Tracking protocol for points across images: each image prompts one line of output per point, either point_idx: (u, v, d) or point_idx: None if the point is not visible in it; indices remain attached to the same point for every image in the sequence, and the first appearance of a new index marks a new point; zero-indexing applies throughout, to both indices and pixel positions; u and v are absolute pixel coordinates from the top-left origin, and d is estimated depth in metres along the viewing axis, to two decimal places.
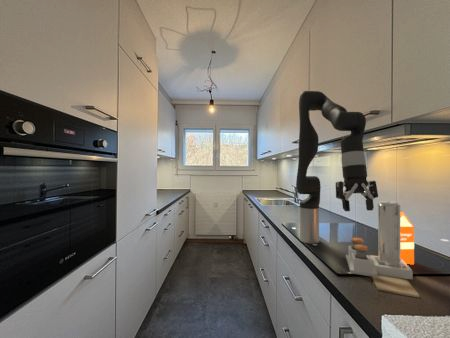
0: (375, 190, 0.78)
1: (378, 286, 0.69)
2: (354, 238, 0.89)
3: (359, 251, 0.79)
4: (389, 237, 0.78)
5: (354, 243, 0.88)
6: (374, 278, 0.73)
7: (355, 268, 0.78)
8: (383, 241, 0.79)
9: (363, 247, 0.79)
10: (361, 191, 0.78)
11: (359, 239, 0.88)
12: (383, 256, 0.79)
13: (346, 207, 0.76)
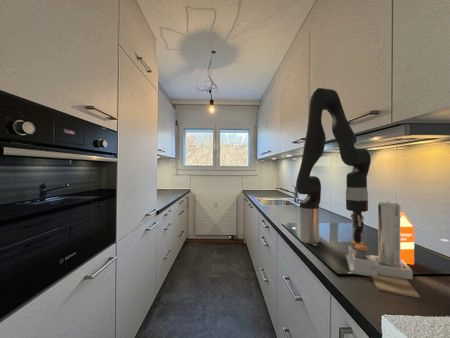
0: None
1: (378, 286, 0.69)
2: (354, 241, 0.89)
3: (359, 251, 0.79)
4: (389, 237, 0.78)
5: None
6: (374, 278, 0.73)
7: (355, 268, 0.78)
8: (383, 241, 0.79)
9: (363, 247, 0.79)
10: None
11: None
12: (383, 256, 0.79)
13: (359, 239, 0.87)
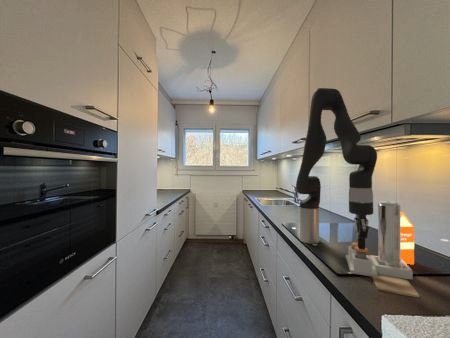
0: None
1: (378, 286, 0.69)
2: (354, 243, 0.89)
3: (359, 253, 0.79)
4: (389, 237, 0.78)
5: None
6: (374, 278, 0.73)
7: (355, 268, 0.78)
8: (383, 241, 0.79)
9: (363, 249, 0.79)
10: None
11: None
12: (383, 256, 0.79)
13: (364, 245, 0.78)
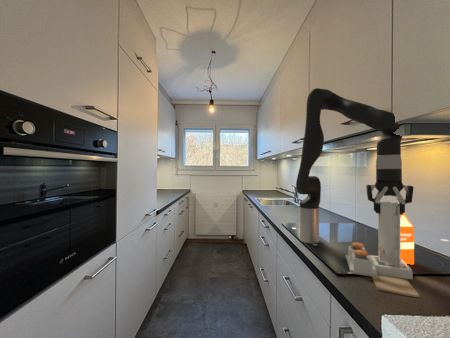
0: None
1: (378, 286, 0.69)
2: (354, 243, 0.89)
3: (359, 256, 0.79)
4: (389, 237, 0.78)
5: (354, 248, 0.88)
6: (374, 278, 0.73)
7: (355, 268, 0.78)
8: (383, 241, 0.79)
9: (363, 252, 0.79)
10: None
11: (359, 244, 0.88)
12: (383, 256, 0.79)
13: None
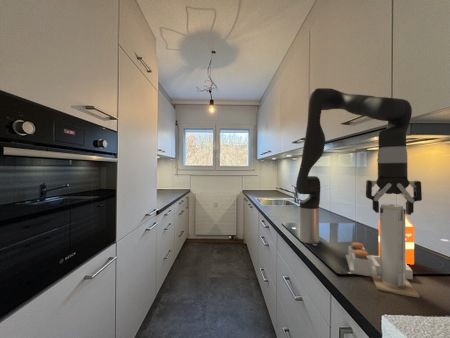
0: None
1: (378, 286, 0.69)
2: (354, 243, 0.89)
3: (359, 256, 0.79)
4: (392, 246, 0.67)
5: (354, 248, 0.88)
6: (374, 278, 0.73)
7: (355, 268, 0.78)
8: (386, 250, 0.69)
9: (363, 252, 0.79)
10: None
11: (359, 244, 0.88)
12: (385, 267, 0.69)
13: None
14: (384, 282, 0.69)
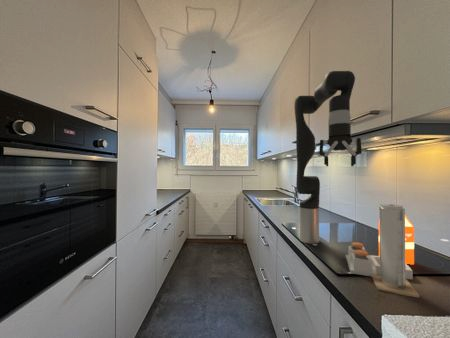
0: None
1: (378, 286, 0.69)
2: (354, 243, 0.89)
3: (359, 256, 0.79)
4: (392, 245, 0.68)
5: (354, 248, 0.88)
6: (374, 278, 0.73)
7: (355, 268, 0.78)
8: (385, 250, 0.69)
9: (363, 252, 0.79)
10: None
11: (359, 244, 0.88)
12: (385, 267, 0.69)
13: None
14: (384, 282, 0.69)
